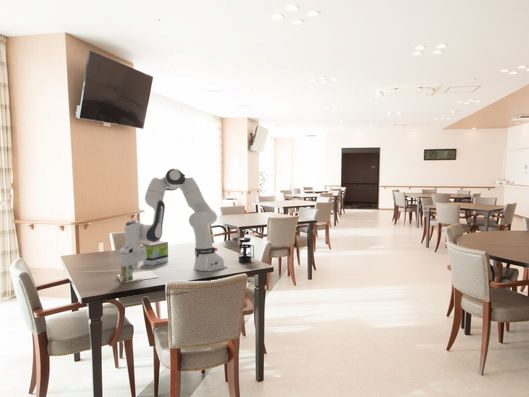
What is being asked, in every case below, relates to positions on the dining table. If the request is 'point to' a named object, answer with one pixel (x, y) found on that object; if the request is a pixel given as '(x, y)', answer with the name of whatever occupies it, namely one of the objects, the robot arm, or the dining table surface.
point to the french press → (245, 258)
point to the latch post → (124, 275)
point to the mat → (141, 276)
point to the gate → (129, 272)
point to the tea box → (156, 252)
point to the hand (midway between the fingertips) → (134, 270)
